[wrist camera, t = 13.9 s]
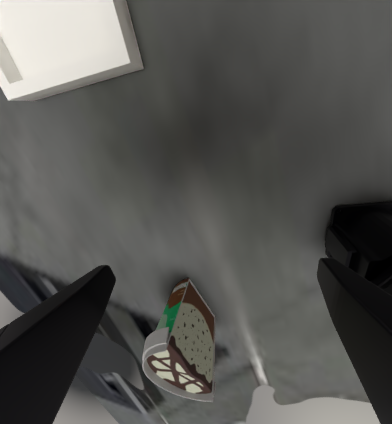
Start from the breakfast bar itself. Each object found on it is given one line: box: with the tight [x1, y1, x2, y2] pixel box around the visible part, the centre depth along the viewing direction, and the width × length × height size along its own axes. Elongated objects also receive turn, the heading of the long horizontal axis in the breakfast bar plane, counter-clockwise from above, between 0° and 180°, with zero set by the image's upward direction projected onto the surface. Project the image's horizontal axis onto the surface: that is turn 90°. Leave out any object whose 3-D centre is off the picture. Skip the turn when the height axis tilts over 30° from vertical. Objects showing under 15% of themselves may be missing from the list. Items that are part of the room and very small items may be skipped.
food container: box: [142, 278, 216, 402], centre depth 26 cm, size 12×6×10 cm, turn 27°
